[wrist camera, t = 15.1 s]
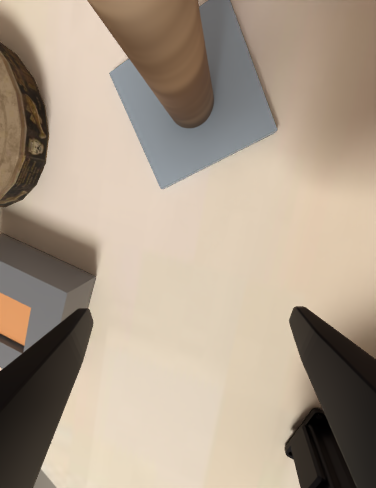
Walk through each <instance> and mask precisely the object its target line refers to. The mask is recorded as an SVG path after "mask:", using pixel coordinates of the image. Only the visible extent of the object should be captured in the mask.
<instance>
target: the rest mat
mask: <svg viewBox="0 0 376 488" xmlns="http://www.w3.org/2000/svg"><path fill="white" fill-rule="evenodd" d="M199 10H200V16H201V22H202V28H203V34H204V40H205V46H206V53H207V59H208V65H209V71H210V77H211V83H212V89H213V95H214V105H213V109H212V112H211V114H210V116H209V117H208V119H207V120H206V121H205V122H204V123H203V124H201V125H200V126H198V127H195V128H183V127H181V126H179V125H177V124H176V123H175V122H174V121H173V119H172V118H171V116H170V115H169V114H168V112H167V111H166V110H165V108H164V107H163V105H162V104H161V103H160V101H159V100H158V98H157V97H156V96H155V94H154V93H153V91H152V90H151V89H150V87H149V86H148V84H147V83H146V82H145V80H144V79H143V77H142V76H141V75H140V73H139V72H138V70H137V69H136V68H135V66H134V65H133V63H132V62H131V61H130V59H128V60H126V61H125V62H124V63H122V64H121V65H120V66H118V67H117V68H115V69H114V70H113V71H111V72H110V73H109V74H110V76H111V78H112V81H113V83H114V85H115V87H116V90H117V92H118V94H119V96H120V99H121V101H122V103H123V105H124V107H125V110H126V112H127V114H128V116H129V119H130V121H131V123H132V125H133V128H134V130H135V132H136V134H137V137H138V139H139V141H140V143H141V146H142V148H143V150H144V152H145V154H146V157H147V159H148V161H149V163H150V166H151V168H152V170H153V172H154V175H155V177H156V179H157V181H158V184H159V186H160V188H161V189H165V188H167V187H169V186H171V185H173V184H174V183H176V182H178V181H180V180H182V179H184V178H186V177H188V176H190V175H192V174H194V173H196V172H198V171H200V170H202V169H204V168H206V167H208V166H210V165H212V164H214V163H216V162H218V161H220V160H222V159H224V158H226V157H228V156H230V155H232V154H234V153H236V152H238V151H240V150H242V149H244V148H246V147H248V146H250V145H252V144H254V143H256V142H258V141H260V140H262V139H264V138H266V137H268V136H270V135H272V134H273V133H275V132H276V131H277V127H276V124H275V122H274V119H273V116H272V114H271V111H270V108H269V105H268V103H267V100H266V97H265V94H264V92H263V89H262V86H261V84H260V81H259V78H258V75H257V73H256V70H255V67H254V64H253V62H252V59H251V56H250V54H249V51H248V48H247V45H246V43H245V40H244V37H243V35H242V32H241V29H240V26H239V24H238V21H237V18H236V15H235V13H234V10H233V7H232V5H231V2H230V0H208V1H207V2H205V3H204V4H203V5H201V6H200V7H199Z"/></svg>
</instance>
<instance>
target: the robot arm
mask: <svg viewBox="0 0 376 488" xmlns="http://www.w3.org/2000/svg"><path fill="white" fill-rule="evenodd" d="M289 323H290V327H291V330H292V333H293V336H294V339H295V342H296V345H297V348H298V352H299V355H300V357H301V360H302V362H303V365H304V367H305V370H306V372H307V374H308V376H309V379H310V381H311V383H312V386H313V388H314V390H315V392H316V395H317V397H318V399H319V402H320V404H321V406H322V408H323V410H321V409H319V408H315V409H313V410H312V411H311V412H310V414H309V415H308V416H307V418H306V419H305V420H304V422H303V423H302V425H301V426H300V427H299V429H298V430H297V431H296V433H295V434H294V435H293V437H292V438H291V439H290V441H289V442H288V444H287V445H286V446H285V453H286V455H287V456H288V457H290V458H292V459H293V460H294V462H295V466H296V471H297V475H298V479H299V483H300V487H301V488H376V359H375V358H373V357H372V356H371V355H369V354H368V353H367V352H365V351H364V350H363V349H361V348H360V347H358V346H357V345H356V344H354V343H353V342H352V341H350V340H349V339H348V338H346V337H345V336H344V335H342V334H341V333H340V332H338V331H337V330H336V329H334V328H333V327H331V326H330V325H329V324H327V323H326V322H325V321H323V320H322V319H321V318H319V317H318V316H317V315H315V314H314V313H313V312H311V311H310V310H309V309H307V308H306V307H303V306H296V307H294V308H293V311H292V313H291V316H290V319H289ZM92 327H93V319H92V316H91V313H90V310H89V309H88V308H78V309H77V310H75V311H74V312H73V313H72V314H70V315H69V316H68V317H67V318H65V319H64V320H63V321H62V322H60V323H59V324H58V325H57V326H56V327H54V328H53V329H52V330H51V331H49V332H48V333H47V334H46V335H44V336H43V337H42V338H41V339H39V340H38V341H37V342H36V343H34V344H33V345H32V346H31V347H29V348H28V349H27V350H26V351H24V352H23V353H22V354H21V355H19V356H18V357H17V358H16V359H14V360H13V361H12V362H11V363H10V364H8V365H7V366H6V367H5V368H3V369H2V370H1V371H0V488H33V487H34V484H35V482H36V479H37V477H38V474H39V472H40V469H41V466H42V464H43V461H44V459H45V456H46V454H47V451H48V449H49V446H50V444H51V441H52V439H53V436H54V434H55V431H56V428H57V426H58V423H59V421H60V418H61V416H62V413H63V411H64V408H65V406H66V403H67V401H68V398H69V396H70V393H71V390H72V388H73V385H74V383H75V380H76V378H77V375H78V373H79V370H80V368H81V365H82V362H83V359H84V356H85V352H86V349H87V345H88V342H89V338H90V335H91V331H92ZM318 414H319V415H318Z"/></svg>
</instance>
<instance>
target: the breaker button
mask: <svg viewBox="0 0 376 488" xmlns="http://www.w3.org/2000/svg"><path fill="white" fill-rule="evenodd" d="M30 311H31V308H30V307H28V306H26V305H24V304H22V303H20V302H18V301H16V300H14V299H12V298H10V297H8V296H6V295H4V294H2V293H0V334H2V335H4V336H6V337H8V338H10V339H12V340H14V341H16V342H18V343H20V344H21V345H23V346H24V345H25V339H26V334H27V328H28V322H29V317H30Z"/></svg>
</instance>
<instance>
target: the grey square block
mask: <svg viewBox="0 0 376 488" xmlns="http://www.w3.org/2000/svg"><path fill="white" fill-rule="evenodd" d="M95 279H96V276H94V275H92V274H89V273H87V272H85V271H83V270H81V269H79V268H76V267H74V266H72V265H70V264H68V263H66V262H63V261H61V260H59V259H57V258H55V257H52V256H50V255H48V254H46V253H44V252H42V251H39V250H37V249H35V248H33V247H31V246H29V245H26V244H24V243H22V242H20V241H18V240H16V239H13V238H11V237H9V236H7V235H5V234H0V293H2V294H4V295H6V296H8V297H10V298H12V299H14V300H16V301H18V302H20V303H22V304H24V305H26V306H28V307H30V308H31V311H30V317H29V322H28V328H27V334H26V339H25V345H24V346H23V345H21V344H20V343H18V342H16V341H14V340H12V339H10V338H8V337H6V336H4V335H2V334H0V367H1V368H2V369H3V368H5V367H6V366H7V365H8V364H10V363H11V362H12V361H13V360H14V359H16V358H17V357H18V356H19V355H21V354H22V353H23V352H24V351H26V350H27V349H28V348H29V347H31V346H32V345H33V344H34V343H36V342H37V341H38V340H39V339H41V338H42V337H43V336H44V335H46V334H47V333H48V332H49V331H51V330H52V329H53V328H54V327H56V326H57V325H58V324H59V323H60V322H62V321H63V320H64V319H65V318H67V317H68V316H69V315H70V314H72V313H73V312H74V311H75V310H77V309H78V308H88V305H89V301H90V298H91V294H92V290H93V286H94V283H95Z"/></svg>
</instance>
